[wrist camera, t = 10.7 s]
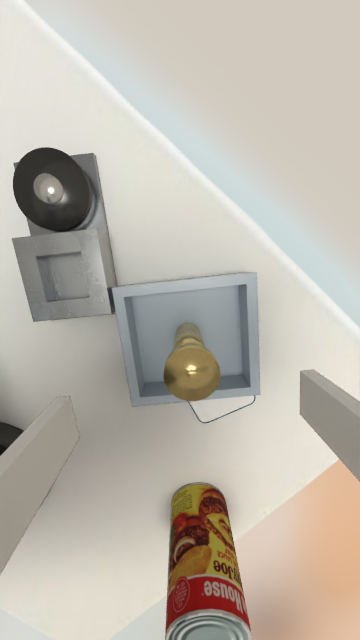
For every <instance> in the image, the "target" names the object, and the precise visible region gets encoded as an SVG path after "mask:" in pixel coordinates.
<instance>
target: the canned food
mask: <svg viewBox="0 0 360 640" xmlns="http://www.w3.org/2000/svg"><path fill="white" fill-rule="evenodd" d="M166 613H167V614H166V635H165V640H252V635H251V629H250V624H249V620H248V614H247V609H246V604H245V599H244V593H243V588H242V583H241V578H240V573H239V568H238V563H237V557H236V552H235V548H234V542H233V537H232V532H231V526H230V521H229V516H228V511H227V506H226V501H225V498H224V496H223V494H222V493H221V492H220V491H219V489H217V488H216V487H214V486H212V485H209V484H206V483H191V484H188V485H185V486H184V487H182V488H180V489H179V490H178V491H177V492H176V493H175V494H174V496H173V498H172V502H171V518H170V541H169V564H168V588H167V611H166Z"/></svg>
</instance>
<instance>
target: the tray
mask: <svg viewBox="0 0 360 640" xmlns="http://www.w3.org/2000/svg"><path fill="white" fill-rule="evenodd" d="M112 292H113V298H114V304H115V310H116V316H117V321H118V327H119V333H120V339H121V345H122V350H123V356H124V362H125V368H126V373H127V379H128V385H129V391H130V397H131V402H132V407H134V406H145V405H156V404H167V403H178V402H189V401H184V400H181V399H179V398H177V397H175V396H174V395H173V394H171V392H170V391H169V390H168V389H167V387H166V385H165V382H164V376H163V374H164V368H165V363H166V359H167V357H168V355H169V354H170V353H171V352H172V351H173V350H174V342H175V333H176V330H177V329H178V327H179V326H180V325H182V324H184V323H192V324H195V325H196V326H197V327H198V328H199V329H200V331H201V334H202V338H203V341H204V344H205V347H206V348H208V349H209V350H210V351H211V352H212V353H213V354H214V356H215V358H216V360H217V362H218V365H219V368H220V373H221V377H220V382H219V385H218V387H217V388H216V390H215V391H214V392H213V393H212V394H211V395H210V396H209V397H207V398H205V399H203V400H210V399H221V398H232V397H243V396H253V395H260V367H259V334H258V300H257V272H244V273H234V274H225V275H216V276H207V277H197V278H188V279H179V280H170V281H160V282H151V283H142V284H133V285H123V286H118V287H114V288H112Z"/></svg>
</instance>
